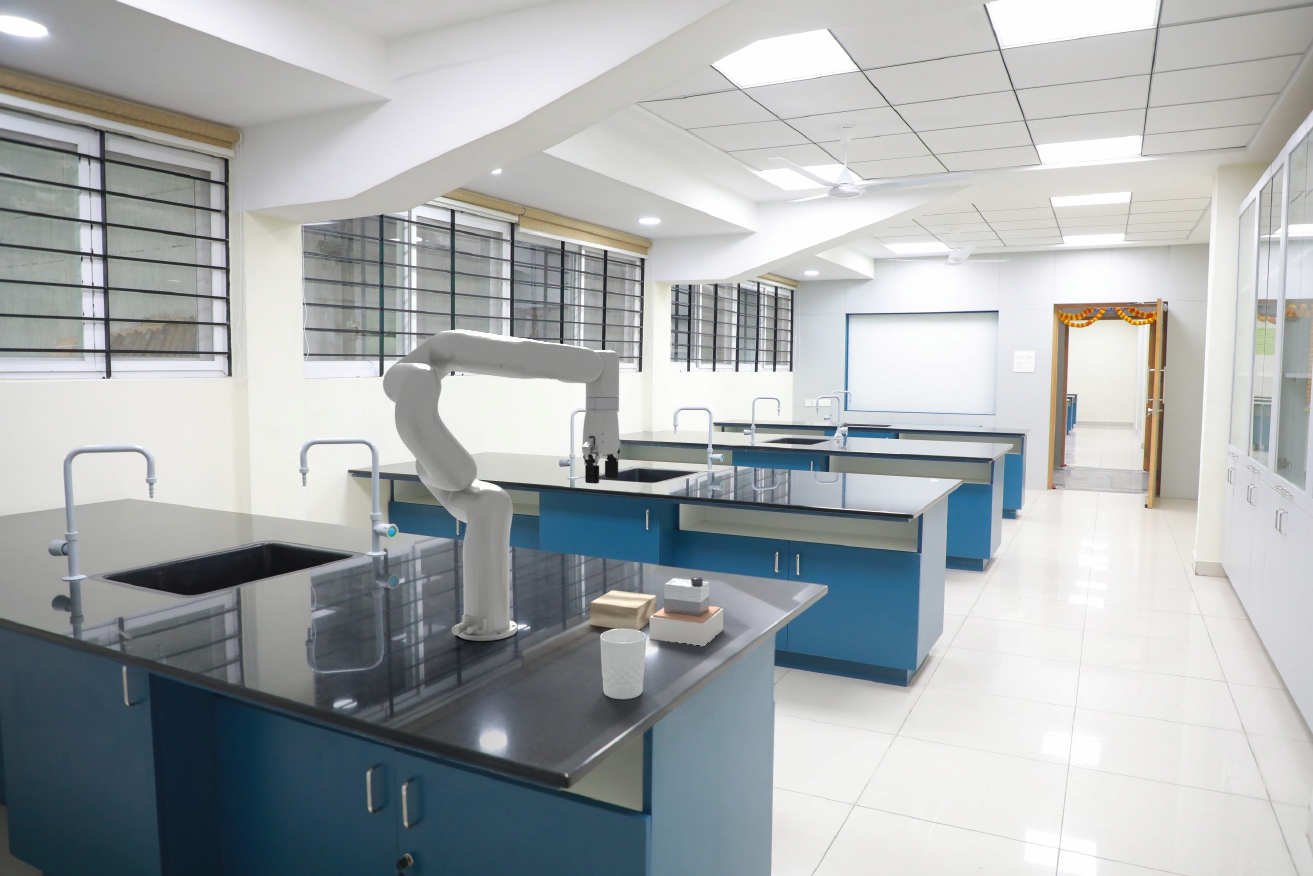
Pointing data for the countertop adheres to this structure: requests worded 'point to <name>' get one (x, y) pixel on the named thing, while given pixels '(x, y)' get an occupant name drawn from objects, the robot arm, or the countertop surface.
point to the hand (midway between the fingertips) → (602, 480)
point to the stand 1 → (623, 610)
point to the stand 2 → (686, 626)
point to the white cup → (623, 662)
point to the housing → (686, 596)
